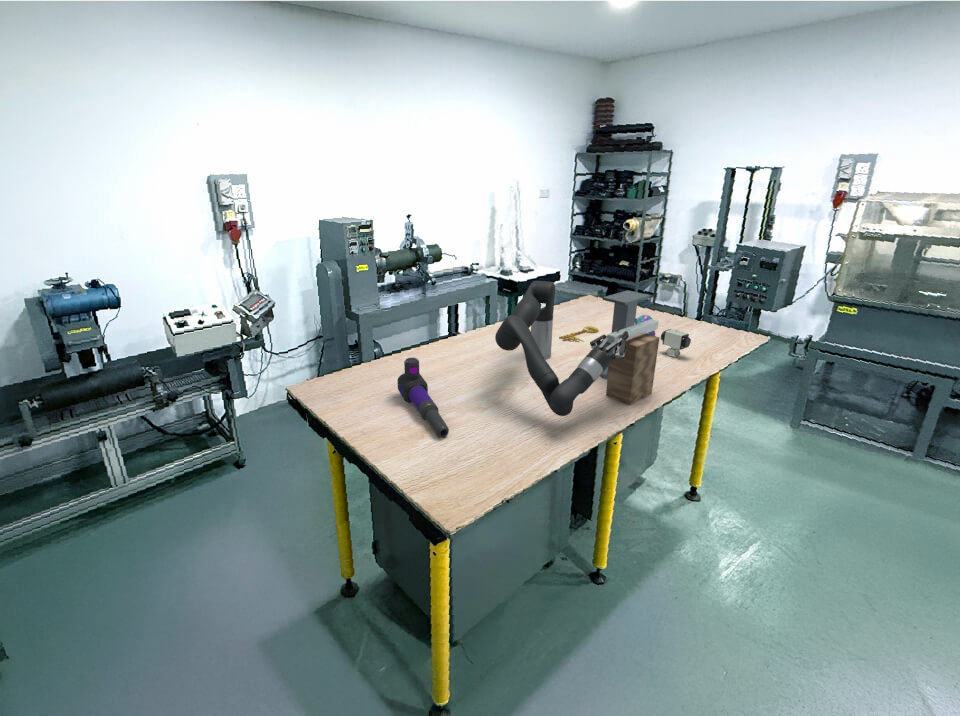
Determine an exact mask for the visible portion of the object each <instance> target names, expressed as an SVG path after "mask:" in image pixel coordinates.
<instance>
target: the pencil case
mask: <svg viewBox="0 0 960 716" xmlns="http://www.w3.org/2000/svg"><path fill="white" fill-rule="evenodd" d="M651 319H652V320H654V319H653V317H652V316H650V315H648V314H642V315H639V316H638V317H637V318H635V325H636V324H639V323H642V322H645V321H648V320H651ZM646 334H649V335H653V336H656V330H654V331H651V332H648V333H646Z"/></svg>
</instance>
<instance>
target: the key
mask: <svg viewBox="0 0 960 716" xmlns="http://www.w3.org/2000/svg"><path fill="white" fill-rule="evenodd" d="M585 333H587V334H588V333H589V334H597V333H599V328H598V327H596V326H593V325H589V326H584V327H583V328H582V330H581V331H580V330H579V331H577V332H574V333H572V332H571V333H570V334H566V335H563V336H559V338H558V339H559V340H561V341H563V342H566V341H567V342H569V343H571V342H575V343H580V342H582V343H584V342H585V340H584V339H583V340H582V339H580V338H578V337H576V336H579V335H583V334H585Z"/></svg>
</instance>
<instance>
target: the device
mask: <svg viewBox="0 0 960 716" xmlns="http://www.w3.org/2000/svg"><path fill="white" fill-rule="evenodd" d="M403 364H404V365H403V366H404V367H403V368H404V372H403V373H402V374H400V375H399V376H398V378H397V390H398V392H399V393H400V395H401V397H402V399H403V400H404V401H405V402H406V403H408V404H411V403H412V404H413V407H415V409H416V410H417V412H418V414H419V415H420V417H421V419H423V420H424V421H426V422H427V423H428V424H429V426H430V427H431V429H432V430H433V431H434V433H435V434H436V436H438V437H439V438H445V437H447V436H448V434H449V432H450V428H449V427H448V424H447V423H446V422H445V420H444V419H443V417H442V416H441V414H440V412H439V411H440V410H439V407H438V406H437V404H436V403H435V402H434V400H433V399H432V397H431V396H430V395H429V390H428V389H429V385H428V383H427V381H426V380H425V378H424V377H423V375H422V374H421V373H420V360H419V359H418V358H417V357H407V358H406V359H405V360H404V361H403Z"/></svg>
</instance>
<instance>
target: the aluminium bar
mask: <svg viewBox="0 0 960 716" xmlns="http://www.w3.org/2000/svg"><path fill="white" fill-rule="evenodd" d="M652 319H653V318H652ZM652 319H651V320H648V321H645V322H642V323H639V324H636V325H633V326H630V327H627V328H625V329H622V330H619V331H617V332H613V333H612V332H611V333H608V334H607V335H606V336H607V343H609V344H612V343H613V342H616V341H617V340H618V339H619V338H620V337H621V336H622V334H623V333H624V332H625V331H628V334H629V337H628V338H627V340H630V339H632V338H635V337H638V336H640V335H643V334H646V333H648V332H651V331H656V330H658V328H659V323H660V322H659V320H655V319H653V320H652ZM627 340H626V341H627Z"/></svg>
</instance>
